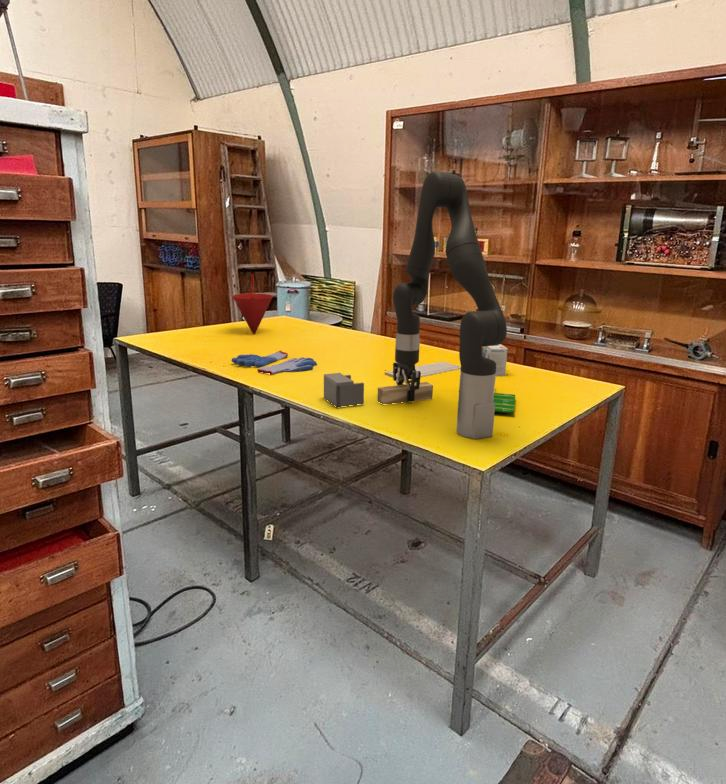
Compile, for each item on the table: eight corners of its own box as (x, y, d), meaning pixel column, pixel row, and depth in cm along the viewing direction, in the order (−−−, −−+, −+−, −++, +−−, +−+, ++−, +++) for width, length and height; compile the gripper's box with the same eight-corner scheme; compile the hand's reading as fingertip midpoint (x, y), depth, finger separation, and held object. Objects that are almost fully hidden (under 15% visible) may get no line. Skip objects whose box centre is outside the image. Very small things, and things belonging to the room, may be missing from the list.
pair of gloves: (327, 367, 226) (327, 358, 225) (278, 379, 207) (278, 370, 206) (273, 354, 245) (273, 346, 244) (224, 364, 226) (223, 355, 225)
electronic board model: (515, 395, 168) (464, 390, 172) (513, 417, 170) (462, 412, 174) (517, 371, 196) (472, 367, 199) (515, 390, 198) (471, 386, 201)
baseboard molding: (464, 371, 225) (442, 365, 234) (464, 363, 224) (442, 358, 233) (406, 383, 206) (384, 376, 215) (406, 375, 205) (384, 368, 214)
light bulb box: (480, 369, 225) (482, 342, 222) (497, 369, 226) (499, 342, 223) (488, 376, 215) (490, 348, 212) (505, 376, 216) (508, 348, 213)
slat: (432, 399, 186) (433, 385, 185) (382, 406, 179) (383, 390, 177) (425, 396, 190) (426, 381, 188) (377, 402, 182) (377, 387, 181)
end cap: (363, 404, 179) (364, 380, 176) (336, 408, 175) (336, 383, 173) (349, 395, 188) (349, 371, 186) (323, 398, 184) (323, 374, 182)
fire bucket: (233, 331, 292) (230, 271, 284) (271, 330, 297) (270, 271, 288) (234, 339, 272) (231, 275, 264) (276, 338, 277) (274, 275, 268)
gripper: (429, 351, 174) (426, 403, 179) (406, 342, 187) (404, 391, 192) (408, 352, 171) (405, 406, 176) (386, 343, 184) (384, 393, 189)
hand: (405, 398), depth 184 cm, fingers open, 6 cm apart
